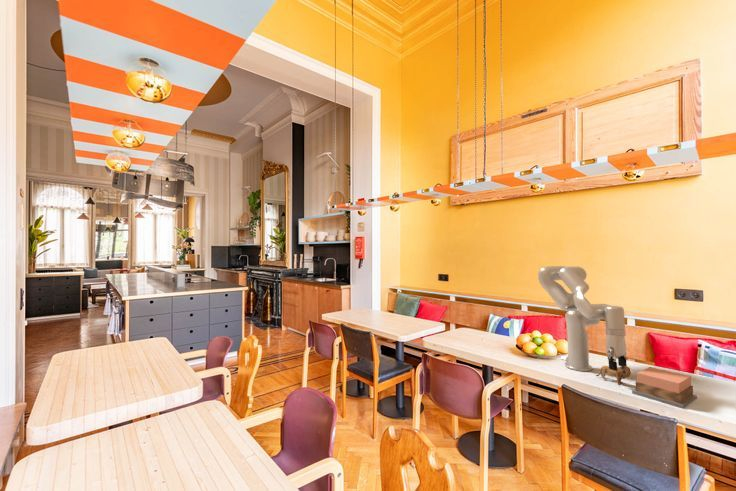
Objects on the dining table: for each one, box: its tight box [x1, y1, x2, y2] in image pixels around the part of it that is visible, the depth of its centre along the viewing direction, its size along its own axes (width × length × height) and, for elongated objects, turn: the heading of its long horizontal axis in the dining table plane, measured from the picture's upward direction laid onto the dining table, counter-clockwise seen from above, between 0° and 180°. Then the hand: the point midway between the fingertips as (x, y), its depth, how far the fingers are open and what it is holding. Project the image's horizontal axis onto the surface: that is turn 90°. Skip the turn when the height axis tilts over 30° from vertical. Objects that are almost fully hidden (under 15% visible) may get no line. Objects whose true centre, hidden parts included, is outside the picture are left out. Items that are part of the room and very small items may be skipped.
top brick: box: [636, 366, 692, 393], centre depth 144 cm, size 14×14×4 cm
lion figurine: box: [595, 365, 632, 386], centre depth 161 cm, size 15×5×9 cm, turn 34°
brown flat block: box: [635, 381, 694, 404], centre depth 144 cm, size 15×15×4 cm
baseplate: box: [631, 388, 698, 409], centre depth 144 cm, size 17×17×1 cm
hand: (617, 368), depth 159 cm, fingers open, 9 cm apart
